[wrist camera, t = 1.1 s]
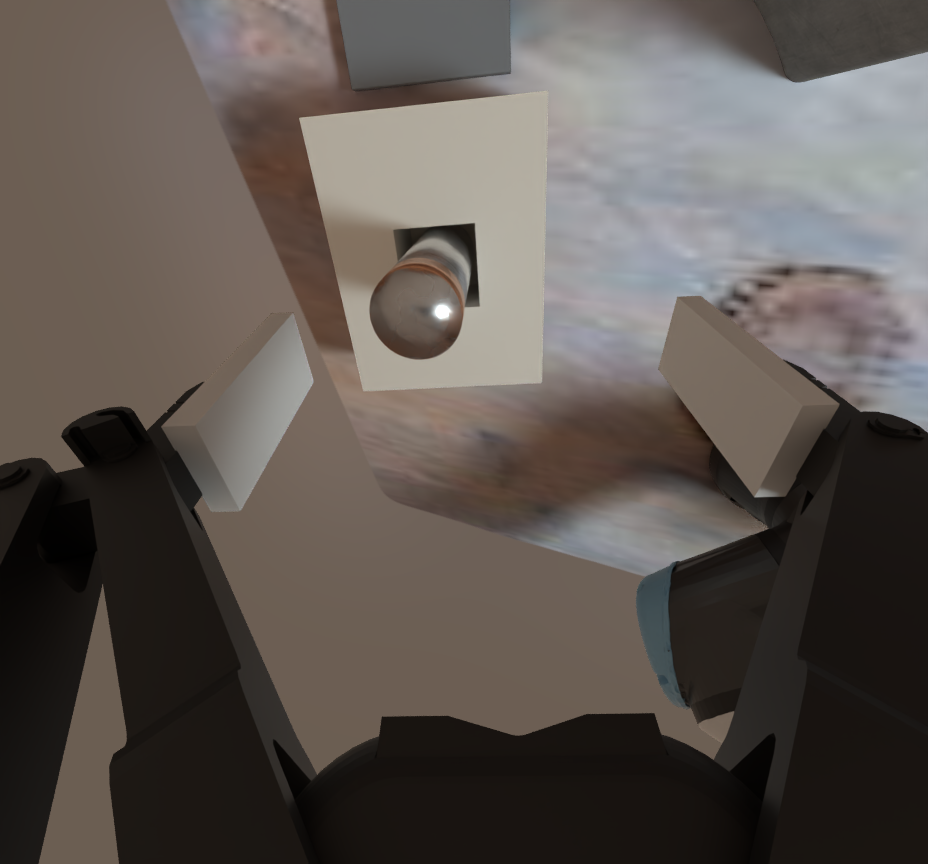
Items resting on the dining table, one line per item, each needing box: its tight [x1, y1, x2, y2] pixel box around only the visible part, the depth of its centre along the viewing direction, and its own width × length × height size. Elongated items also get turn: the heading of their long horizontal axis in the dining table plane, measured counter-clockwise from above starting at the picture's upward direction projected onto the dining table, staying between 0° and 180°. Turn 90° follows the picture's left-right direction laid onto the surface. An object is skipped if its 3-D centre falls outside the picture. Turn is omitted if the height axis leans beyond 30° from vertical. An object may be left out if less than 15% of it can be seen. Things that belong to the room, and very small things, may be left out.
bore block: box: [299, 91, 548, 391], centre depth 35 cm, size 20×16×8 cm
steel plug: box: [369, 224, 474, 360], centre depth 30 cm, size 5×5×18 cm
